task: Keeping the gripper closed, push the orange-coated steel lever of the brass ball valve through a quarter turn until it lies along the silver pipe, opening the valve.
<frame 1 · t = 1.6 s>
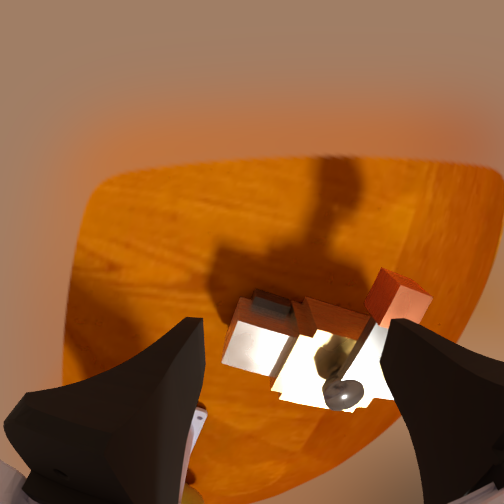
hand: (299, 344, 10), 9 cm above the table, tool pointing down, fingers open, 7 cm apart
lemon: (185, 481, 28), on the table
lever: (369, 351, 15), point 6 cm above the table, hinge at 0.0°
valve: (324, 339, 21), on the table
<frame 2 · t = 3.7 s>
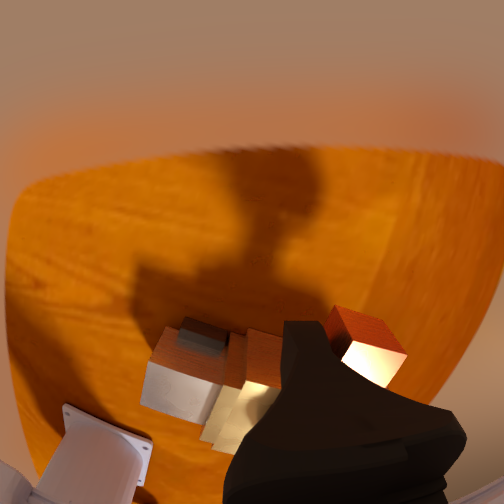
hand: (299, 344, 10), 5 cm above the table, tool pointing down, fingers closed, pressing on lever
lever: (314, 413, 11), point 6 cm above the table, hinge at -0.5°, touching gripper
valve: (277, 377, 17), on the table
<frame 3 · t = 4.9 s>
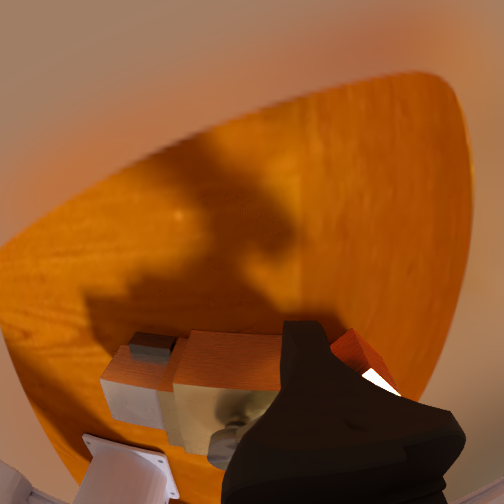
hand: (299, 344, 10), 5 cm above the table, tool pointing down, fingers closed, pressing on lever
lever: (287, 423, 10), point 6 cm above the table, hinge at -42.1°, touching gripper
valve: (241, 372, 17), on the table
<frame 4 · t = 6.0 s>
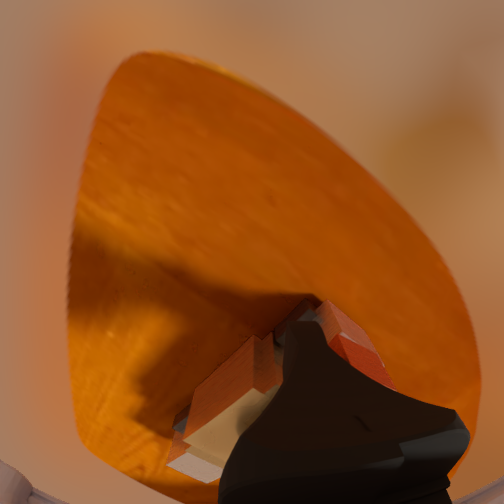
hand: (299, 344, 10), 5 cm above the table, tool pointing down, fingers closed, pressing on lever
lever: (298, 430, 11), point 6 cm above the table, hinge at -80.7°, touching gripper
valve: (258, 387, 17), on the table
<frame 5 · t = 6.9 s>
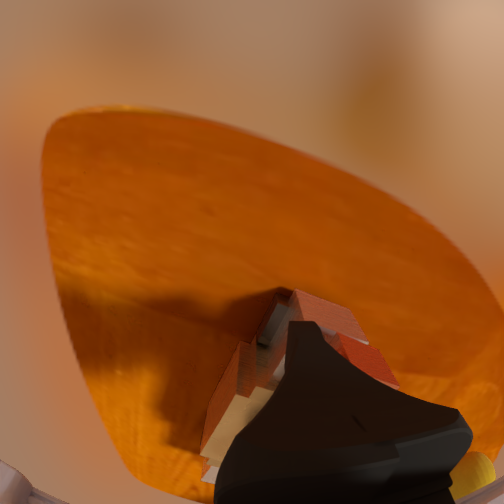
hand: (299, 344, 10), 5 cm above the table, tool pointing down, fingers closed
lemon: (457, 453, 21), on the table
lever: (304, 430, 11), point 6 cm above the table, hinge at -94.6°, touching gripper
valve: (265, 388, 17), on the table
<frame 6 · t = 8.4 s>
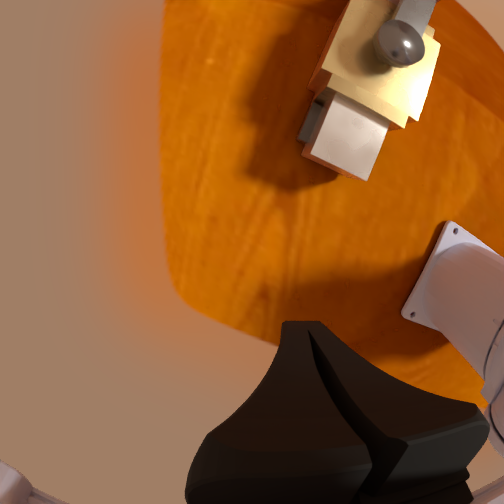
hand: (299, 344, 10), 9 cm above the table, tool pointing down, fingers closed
lever: (415, 7, 9), point 6 cm above the table, hinge at -94.6°
valve: (361, 72, 16), on the table
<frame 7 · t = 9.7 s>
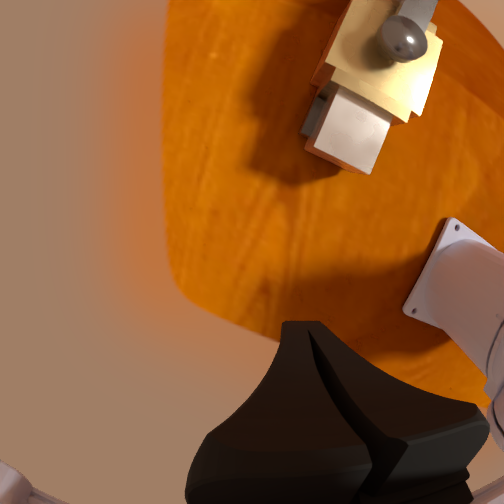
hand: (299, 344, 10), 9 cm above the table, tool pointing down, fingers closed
lever: (418, 4, 9), point 6 cm above the table, hinge at -94.6°
valve: (363, 68, 16), on the table
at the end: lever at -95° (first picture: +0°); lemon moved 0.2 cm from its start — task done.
